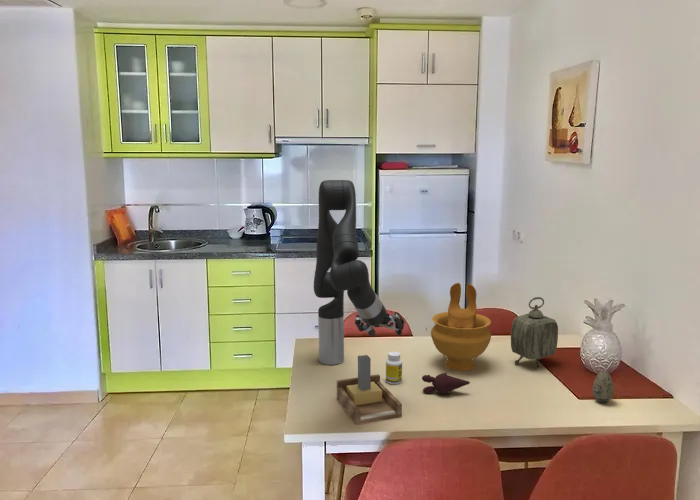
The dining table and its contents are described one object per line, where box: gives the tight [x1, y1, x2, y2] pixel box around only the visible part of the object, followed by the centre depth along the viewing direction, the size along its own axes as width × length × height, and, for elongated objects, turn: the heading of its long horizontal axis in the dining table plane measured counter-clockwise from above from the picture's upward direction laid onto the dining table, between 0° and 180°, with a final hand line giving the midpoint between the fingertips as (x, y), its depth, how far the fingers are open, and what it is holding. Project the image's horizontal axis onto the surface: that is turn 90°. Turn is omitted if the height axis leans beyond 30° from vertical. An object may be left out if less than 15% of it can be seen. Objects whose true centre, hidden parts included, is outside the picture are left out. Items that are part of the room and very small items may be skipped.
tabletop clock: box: [510, 296, 559, 368], centre depth 202 cm, size 14×9×25 cm, turn 115°
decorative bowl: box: [430, 282, 492, 372], centre depth 202 cm, size 21×21×30 cm
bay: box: [336, 373, 403, 425], centre depth 171 cm, size 18×14×6 cm
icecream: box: [421, 372, 471, 395], centre depth 181 cm, size 7×7×15 cm
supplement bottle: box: [385, 351, 403, 385], centre depth 190 cm, size 5×5×10 cm
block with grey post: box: [347, 354, 382, 406], centre depth 174 cm, size 7×9×14 cm
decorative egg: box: [592, 370, 615, 404], centre depth 174 cm, size 6×6×10 cm
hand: (386, 333), depth 177 cm, fingers open, 8 cm apart
